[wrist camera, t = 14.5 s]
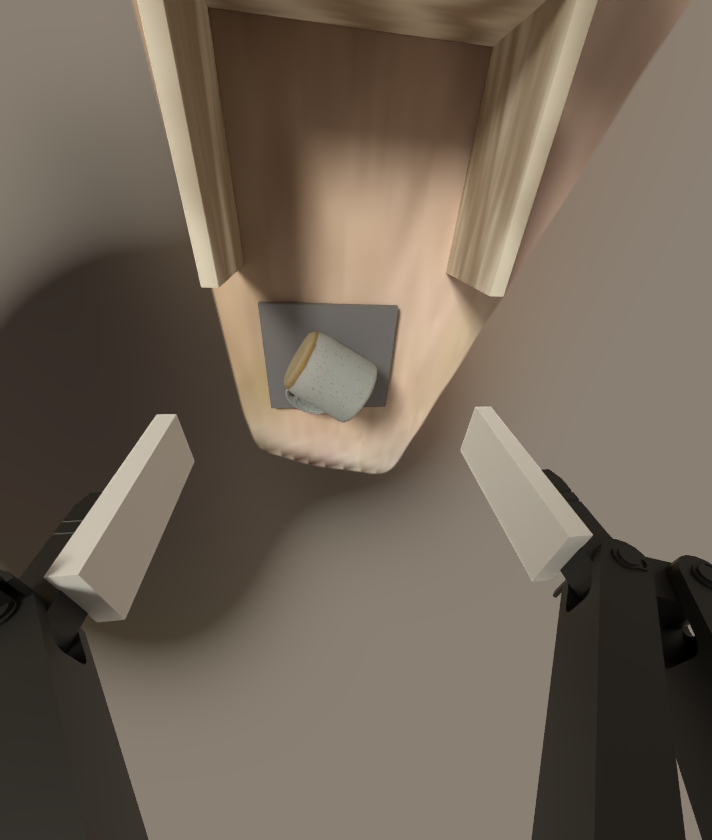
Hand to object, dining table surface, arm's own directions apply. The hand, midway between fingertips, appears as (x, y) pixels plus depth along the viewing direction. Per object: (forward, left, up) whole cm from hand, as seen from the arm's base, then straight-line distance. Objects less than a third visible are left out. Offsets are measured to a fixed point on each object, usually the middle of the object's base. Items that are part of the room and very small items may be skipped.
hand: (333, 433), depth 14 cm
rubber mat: (+1, -7, -24) cm, 24 cm away
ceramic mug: (0, -8, -23) cm, 24 cm away
